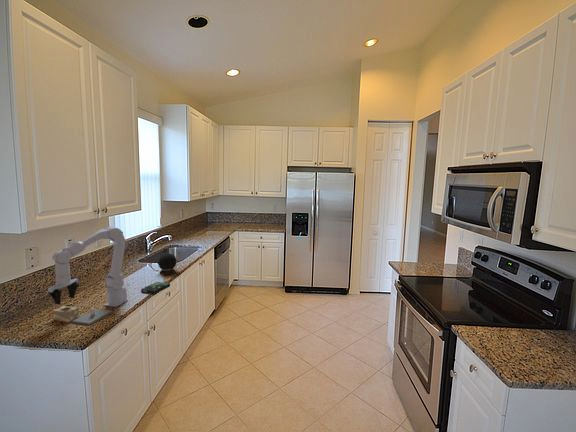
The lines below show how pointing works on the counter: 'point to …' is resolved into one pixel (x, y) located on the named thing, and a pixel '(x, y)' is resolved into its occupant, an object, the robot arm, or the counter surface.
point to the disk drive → (155, 287)
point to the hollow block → (65, 313)
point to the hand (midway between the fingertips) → (65, 300)
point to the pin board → (92, 316)
